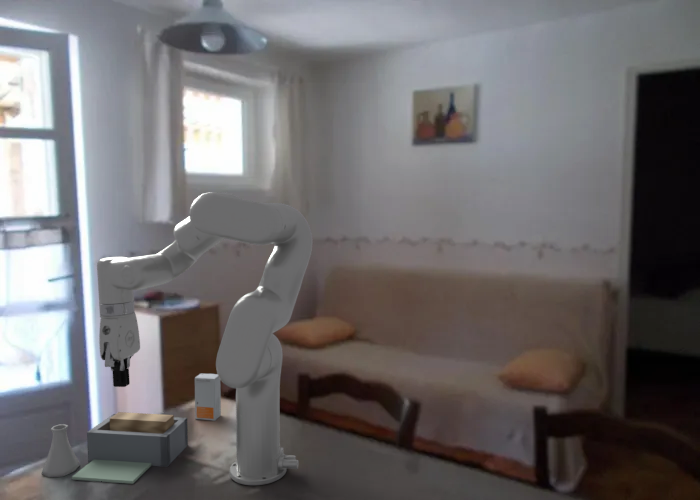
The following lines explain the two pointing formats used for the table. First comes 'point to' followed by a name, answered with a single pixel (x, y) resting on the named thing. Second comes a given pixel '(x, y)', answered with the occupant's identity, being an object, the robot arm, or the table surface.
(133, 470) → the mat
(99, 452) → the cradle
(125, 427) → the oak bar
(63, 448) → the flask
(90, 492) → the table surface
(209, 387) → the skincare box
